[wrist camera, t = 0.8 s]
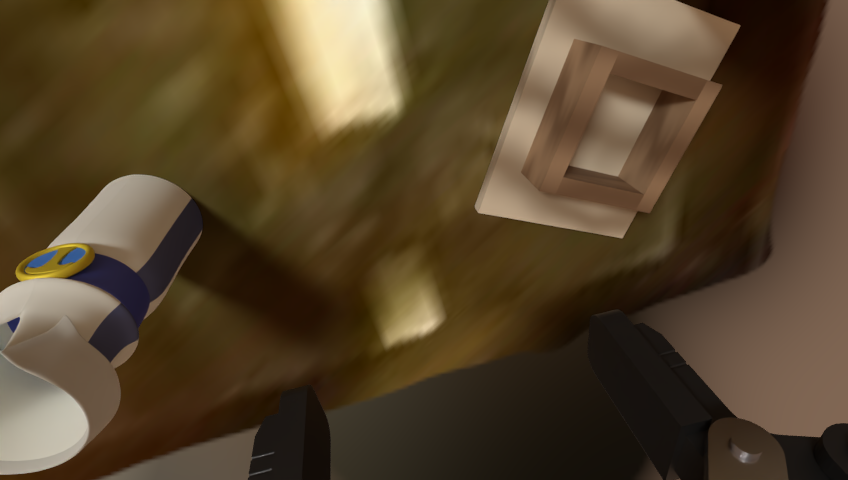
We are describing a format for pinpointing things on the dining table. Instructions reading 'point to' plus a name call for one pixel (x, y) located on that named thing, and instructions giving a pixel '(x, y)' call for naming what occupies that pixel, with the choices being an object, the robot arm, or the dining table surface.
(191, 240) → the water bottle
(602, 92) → the collar board
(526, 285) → the dining table surface
